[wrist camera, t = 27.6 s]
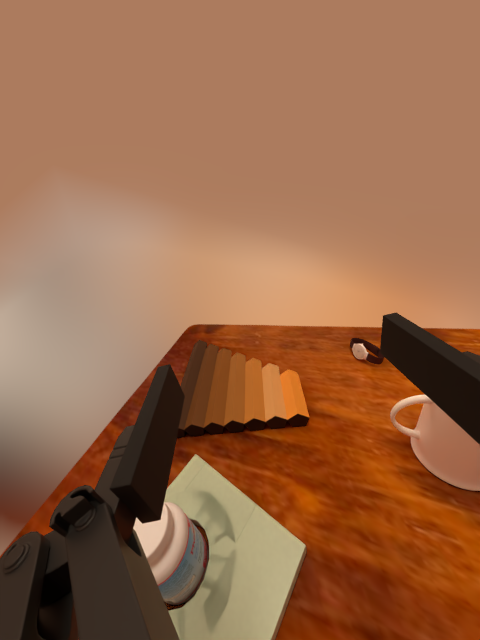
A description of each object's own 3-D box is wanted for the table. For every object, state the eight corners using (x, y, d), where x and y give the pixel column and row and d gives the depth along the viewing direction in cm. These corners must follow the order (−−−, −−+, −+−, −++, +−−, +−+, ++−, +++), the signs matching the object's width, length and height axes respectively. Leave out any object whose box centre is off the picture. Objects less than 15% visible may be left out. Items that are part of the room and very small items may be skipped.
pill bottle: (219, 559, 25) (188, 521, 20) (175, 626, 22) (122, 603, 16) (190, 516, 30) (157, 474, 24) (148, 567, 26) (99, 532, 21)
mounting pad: (306, 551, 25) (305, 545, 24) (184, 891, 14) (173, 906, 13) (199, 460, 36) (195, 453, 35) (83, 607, 24) (72, 603, 24)
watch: (343, 349, 50) (344, 336, 49) (361, 342, 51) (362, 329, 49) (370, 370, 44) (372, 356, 42) (390, 362, 45) (393, 348, 43)
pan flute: (196, 350, 61) (169, 438, 40) (193, 340, 60) (162, 427, 38) (287, 337, 58) (310, 425, 37) (286, 326, 56) (309, 412, 35)
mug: (387, 468, 30) (401, 411, 24) (380, 414, 36) (390, 358, 30) (513, 503, 25) (572, 441, 19) (479, 432, 31) (516, 369, 25)
